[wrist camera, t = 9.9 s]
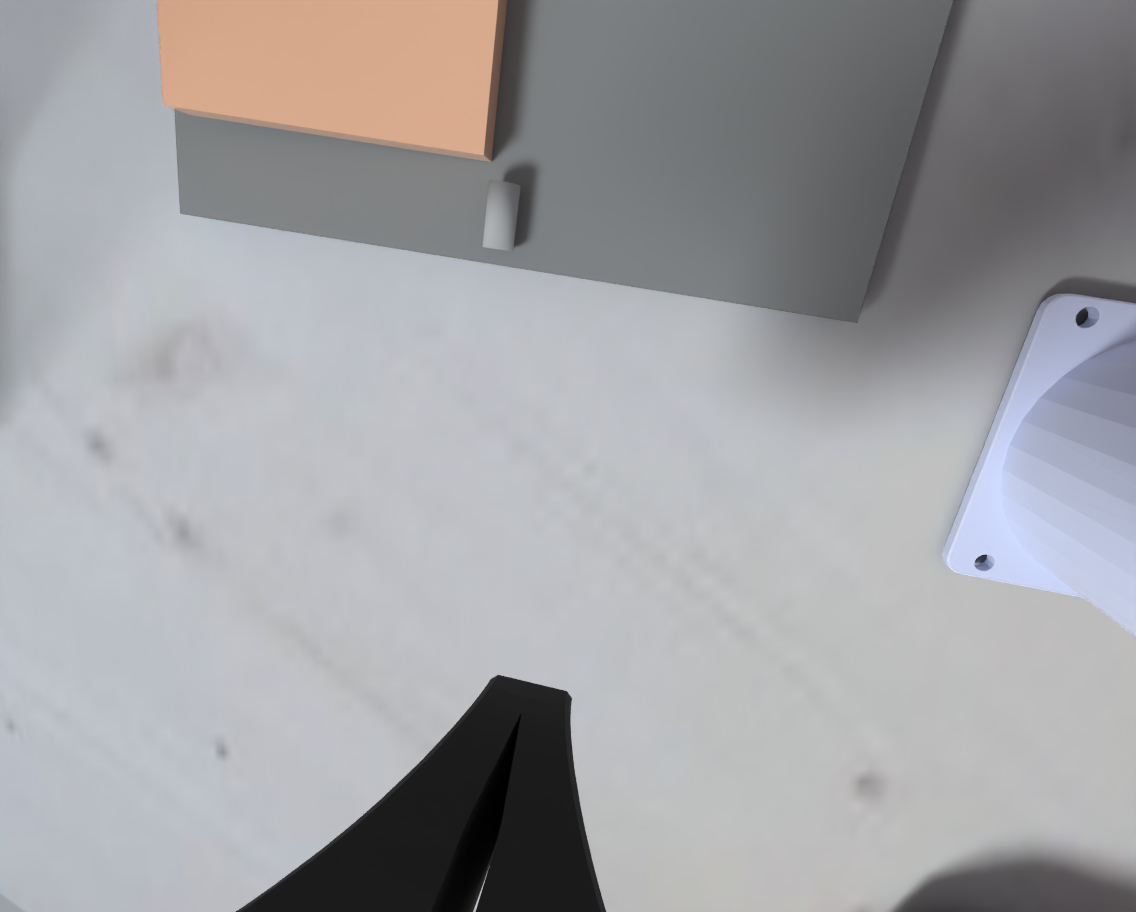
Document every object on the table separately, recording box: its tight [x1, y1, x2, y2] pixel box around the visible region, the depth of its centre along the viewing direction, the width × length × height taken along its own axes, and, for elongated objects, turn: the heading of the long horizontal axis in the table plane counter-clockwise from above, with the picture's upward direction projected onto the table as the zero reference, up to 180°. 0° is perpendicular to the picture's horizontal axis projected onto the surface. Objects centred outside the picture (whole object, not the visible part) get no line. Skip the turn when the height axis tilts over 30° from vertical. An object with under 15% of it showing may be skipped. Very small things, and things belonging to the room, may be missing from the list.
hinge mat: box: [175, 0, 953, 323], centre depth 14 cm, size 19×12×2 cm, turn 81°
